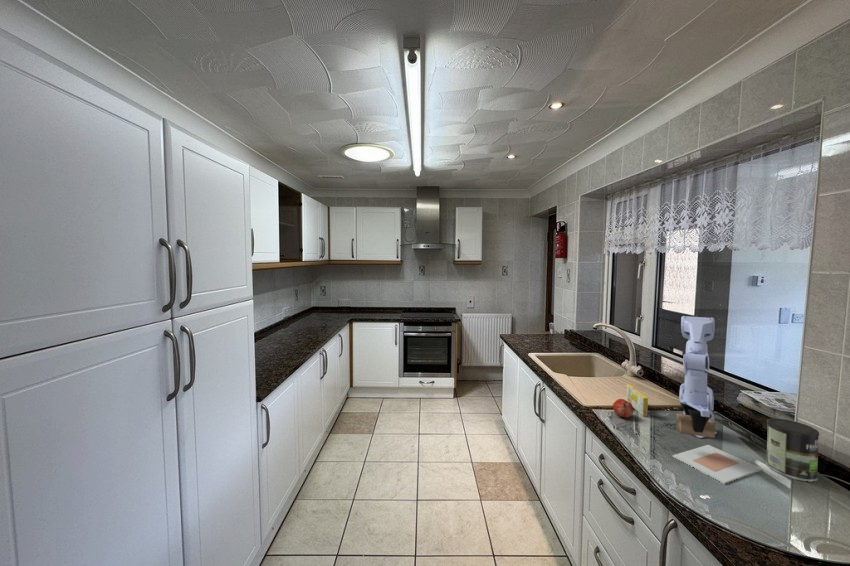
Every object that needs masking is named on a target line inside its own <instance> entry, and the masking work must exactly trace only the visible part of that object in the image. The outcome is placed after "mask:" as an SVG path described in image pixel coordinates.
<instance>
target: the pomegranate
mask: <svg viewBox="0 0 850 566" xmlns="http://www.w3.org/2000/svg"><path fill="white" fill-rule="evenodd" d="M612 409H613V411H614V413H615V414H616V415H617V416H619V417H620V418H626V419H629V418H631V417H632V416H633V413H634V408H633V406H632V404H631V403H629V402H627V401H626V399H623V398H619V399H616V400H615V401H614V402H613V403H612Z"/></svg>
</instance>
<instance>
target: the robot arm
mask: <svg viewBox="0 0 850 566" xmlns="http://www.w3.org/2000/svg"><path fill="white" fill-rule="evenodd" d="M680 320H681V321H680V330H681V335H682V337H683V338H684V339H687V341H686V343H685V353H684V354H683V358H682V359H683V360H682V361H683V365H682V366H683V374H684V383H681V385H680V386H679V392H678V393H679V398H678V399H679V400H678V401H679V404H680V406H681V407H682V409H683V414H684V415H690V416H691V418H692V424H693V429H694V431H695V432H700V433H702V432H703V430H704V427H705V425H706V423H707V421H708V420H709V419H711V420H712V421H713V422H714V423H715V414H714V412H713V411H714V410H715V409H714V408H715V407H714V404H715V403H714V402H715V399H714V398H715V397H714V391H713V389H712V388H711V387H709V386H708V373H709V372H710V357H709V353H708V352H709V351H708V344H707V342H710V341H712V340H713V338H714V337H715V327H716V326H715V325H716V324H715V321H716V320H715V318H714V317H704V316H702V317H700V316H687V315H686V316H685V315H683V316H681V319H680ZM717 433H718V432H717V431H715V435H716V434H717ZM717 435H718V434H717ZM693 436H694V437H697V438H699V439H703V438H705V437H704V436H697V435H693Z"/></svg>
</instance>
